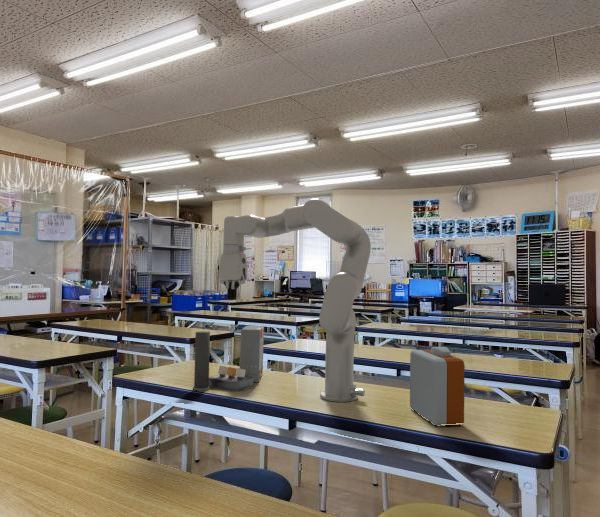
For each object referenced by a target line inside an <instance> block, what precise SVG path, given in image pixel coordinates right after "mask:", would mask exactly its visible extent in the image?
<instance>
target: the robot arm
mask: <svg viewBox="0 0 600 517" xmlns="http://www.w3.org/2000/svg"><path fill="white" fill-rule="evenodd" d="M314 228H315V229H317V230H318V231H319V232H321V233H322V234H324V235H326V237H328V238H330V239H331V240H332V241H334V242H336V243H338V244H341V245H343V246H345V252H344V255H343V257H342V261H341V264H340V265H341V266H340V269H339V272H338V273H335V274H334V275H333V276H332V277H331V278H330V280H329V282H328V283H327V286H326V289H325V292H324V297H323V301H322V305H321V308H320V312H319V320H318V321H319V325H320V327H321V329H322V330H323V331H324V332H325V333H326V337H325V362H324V363H325V364H324V365H325V366H324V368H325V371H324V373H325V374H324V390H323V391H321V392H320V396H319V397H320V398H321V399H322V400H325V401H329V402H338V403H341V402H342V403H344V402H345V403H346V402H347V403H348V402H353V401H357V400H358V398H359V397H364V396H365V392H366V391H365V390H364V388H358V387H357V383H354V369H355V368H354V364H355V363H354V360H355V356H354V355H355V354H354V352H355V334H356V332H355V331H356V325H357V323H356V322H357V320H356V319H357V318H356V314H355V310H354V309H353V308H352V307H353V305H354V301H355V299H356V300H357V298H358V297H359V296H360V295H361V292H362V289H363V284H364V280H365V277H366V272H367V268H368V263H369V260H370V256H371V249H372V248H371V246H372V245H371V244H372V243H371V240H370V237H369V234H368V233H367V232H366V230H365V229H364V227H362V225H360V224H358V223H357V222H355V221H354V220H352V219H350V218H349V217H347V216H345V215H343V214H342V213H340V212H338V211H337V210H336V209H334V208H332V207H331V205H330V204H329V203H327V202H326V201H324V200H322V199H320V198H311V199H309V200H307V201H305V203H304V204H301V205H295V206H290V207H286V208H285V209H284V210H283V212H281V213H280V214H276V215H272V216H267V217H261V216H257V215H254V214H246V215H240V216H237V215H236V216H235V215H229V216H225V217H224V220H223V238H222V239H223V245H222V253H221V256H220V259H219V268H218V278H219V284H222V285H224V286H225V288H226V289H227V301H236V300H237V296H238V294H237V290H238V289H239V287H241V285H245V284H246V281H247V280H248V262H247V256H246V254H245V251H246V250H247V247H246V246H244V245H245V236H247V237H253V238H259V239H260V238H269V237H275V236H279V235H283V234H288V233H290V232H291V233H292V232H296V231H297V232H298V231H303V230H306V229H314Z"/></svg>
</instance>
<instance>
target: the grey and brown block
mask: <svg viewBox="0 0 600 517" xmlns="http://www.w3.org/2000/svg"><path fill="white" fill-rule="evenodd" d="M409 362H410V363H409V366H410V367H409V408H410V407H411V408H412V409H413V410H415V411H416V412H417V413H419V414H420V415H422V416H423V417H425V418H426V419H428V420H429V421H430V422H432V423H433V424H435V425H441V424H456V423H465V370H466V369H465V361H464V360H463V359H462V358H459V357H455V356H454V355H451V351H450V349H449V348H448V347H447V346H432V347H431V348H430V349H413V350H411V351H410V361H409ZM411 408H410V409H411ZM412 409H411V410H412ZM413 410H412V411H413ZM416 412H415V413H416ZM417 413H416V414H417ZM420 415H419V416H420ZM423 417H422V418H423Z"/></svg>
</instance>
